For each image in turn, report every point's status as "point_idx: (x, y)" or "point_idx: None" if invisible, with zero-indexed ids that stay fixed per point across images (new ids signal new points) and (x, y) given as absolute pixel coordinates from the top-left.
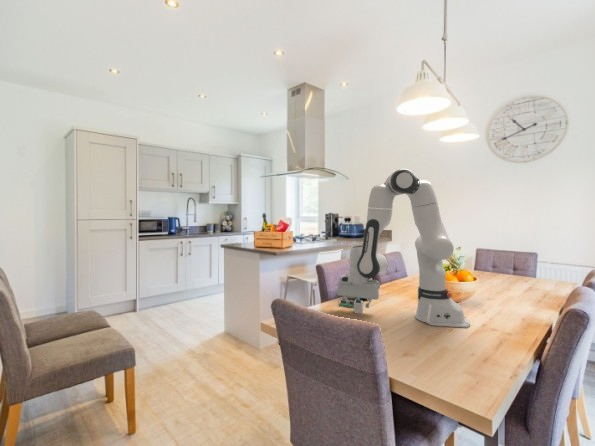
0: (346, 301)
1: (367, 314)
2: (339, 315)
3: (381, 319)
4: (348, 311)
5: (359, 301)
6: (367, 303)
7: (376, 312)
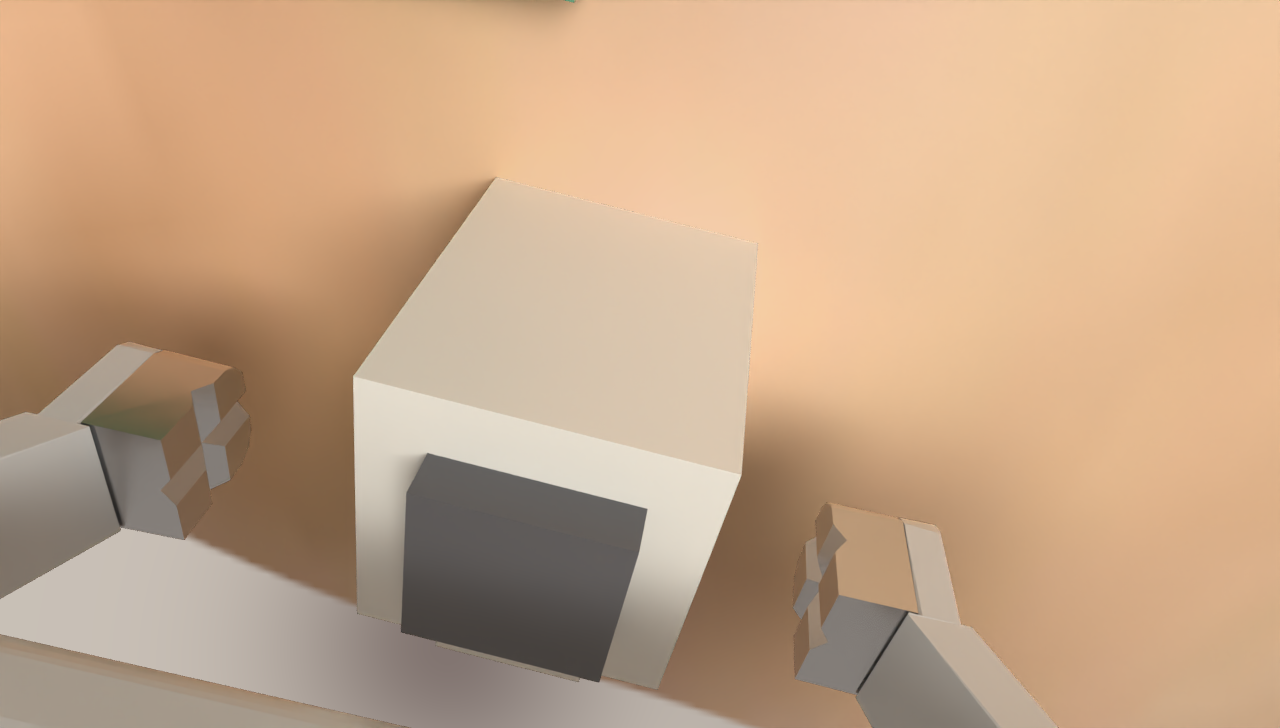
0: (73, 530)
1: (839, 478)
2: (220, 545)
3: (1089, 709)
4: (324, 305)
5: (552, 663)
6: (887, 622)
7: (1191, 317)
